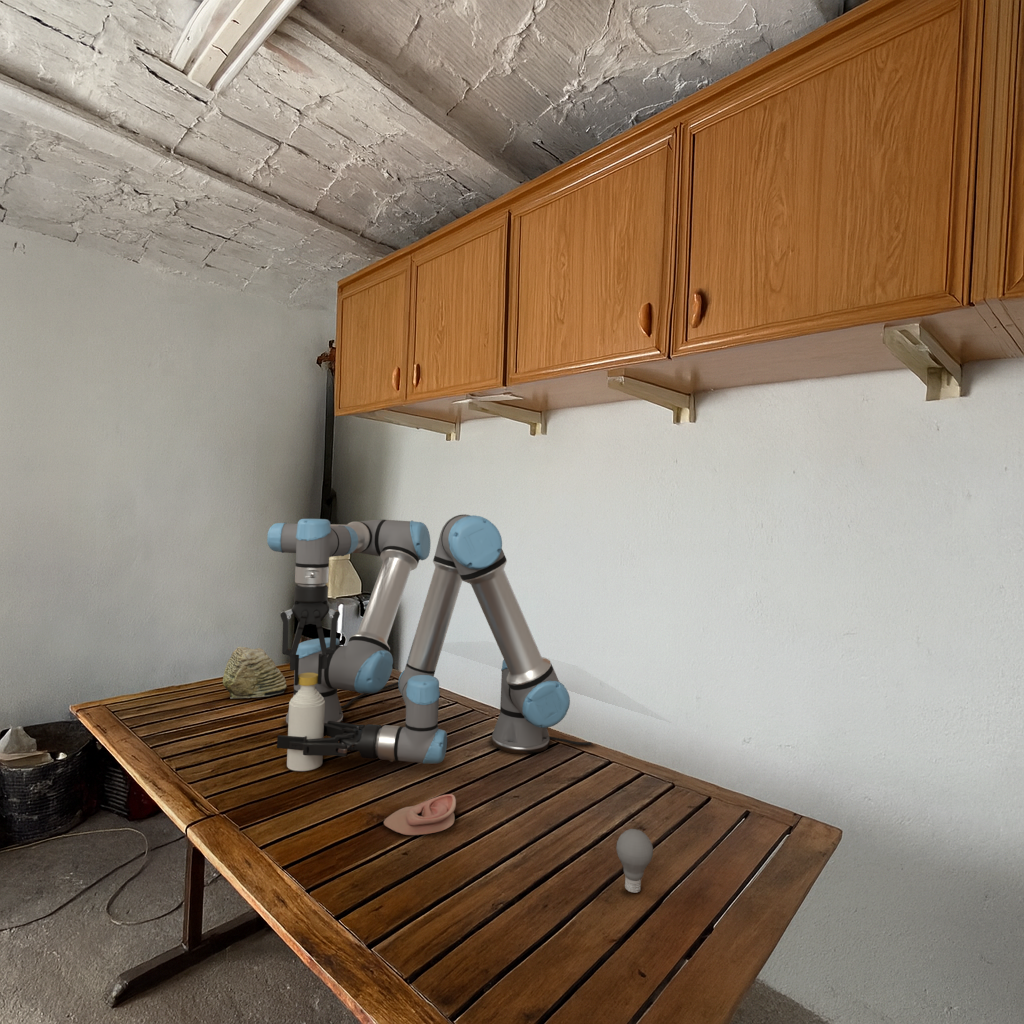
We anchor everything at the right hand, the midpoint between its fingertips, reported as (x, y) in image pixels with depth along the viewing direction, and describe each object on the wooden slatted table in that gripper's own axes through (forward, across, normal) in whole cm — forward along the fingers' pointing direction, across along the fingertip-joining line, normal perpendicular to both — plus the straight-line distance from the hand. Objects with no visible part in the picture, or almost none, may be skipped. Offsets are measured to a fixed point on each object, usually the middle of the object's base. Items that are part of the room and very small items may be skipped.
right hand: (286, 734), depth 150 cm
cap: (-5, 0, +14) cm, 15 cm away
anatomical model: (-38, -22, -7) cm, 44 cm away
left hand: (-5, 0, +13) cm, 14 cm away
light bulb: (-78, -38, -7) cm, 86 cm away
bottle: (-5, 0, -7) cm, 8 cm away
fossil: (+31, +45, -7) cm, 55 cm away
